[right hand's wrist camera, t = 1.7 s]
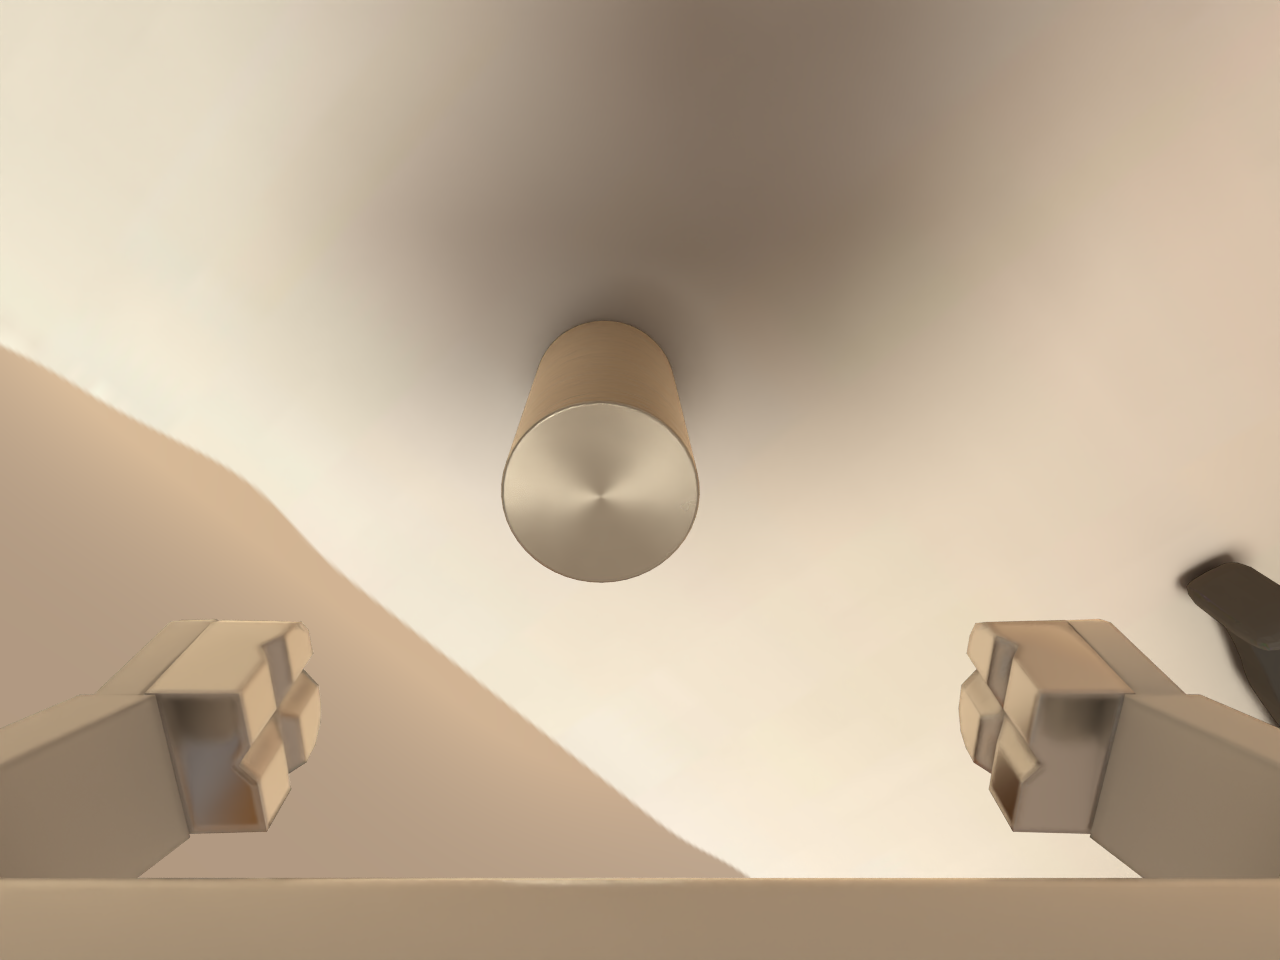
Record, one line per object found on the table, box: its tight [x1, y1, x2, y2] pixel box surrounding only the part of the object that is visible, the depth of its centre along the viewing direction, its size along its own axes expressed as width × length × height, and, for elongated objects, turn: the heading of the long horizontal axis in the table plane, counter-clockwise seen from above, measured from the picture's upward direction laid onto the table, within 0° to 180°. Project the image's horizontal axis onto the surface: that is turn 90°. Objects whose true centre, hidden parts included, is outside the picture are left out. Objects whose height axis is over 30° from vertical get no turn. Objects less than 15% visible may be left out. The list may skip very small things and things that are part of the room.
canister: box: [501, 321, 700, 583], centre depth 26 cm, size 5×5×10 cm
